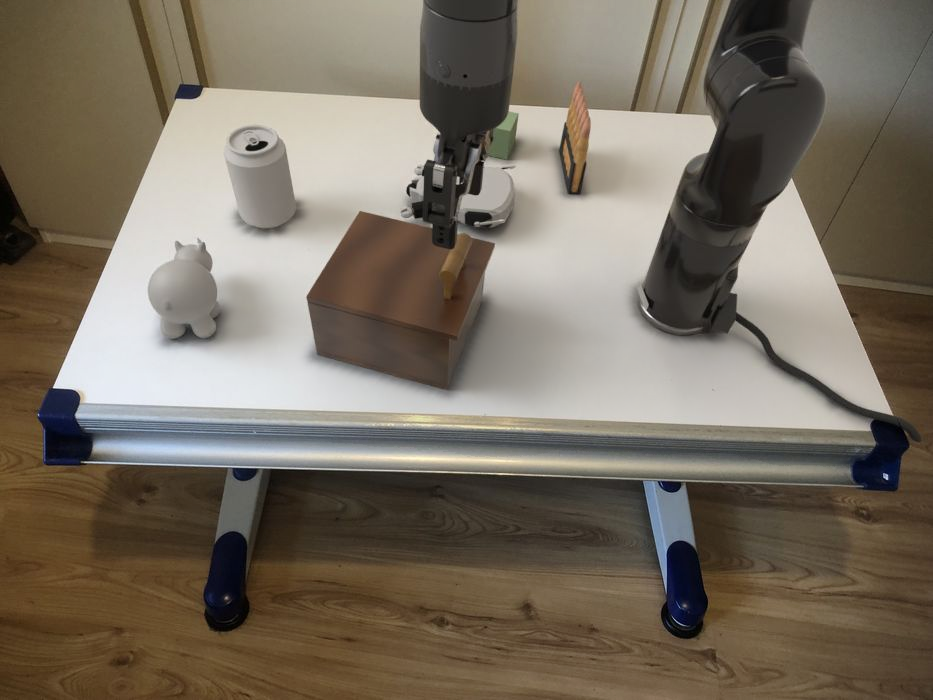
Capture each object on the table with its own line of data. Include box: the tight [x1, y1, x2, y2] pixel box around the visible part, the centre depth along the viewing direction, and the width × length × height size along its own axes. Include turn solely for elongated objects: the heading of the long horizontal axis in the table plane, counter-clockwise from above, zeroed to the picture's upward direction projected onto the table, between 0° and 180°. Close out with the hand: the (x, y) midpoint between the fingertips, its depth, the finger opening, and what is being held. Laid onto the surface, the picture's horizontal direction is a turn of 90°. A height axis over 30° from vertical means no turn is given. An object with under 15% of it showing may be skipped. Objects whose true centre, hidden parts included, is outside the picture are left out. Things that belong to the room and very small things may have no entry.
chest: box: [306, 272, 486, 390], centre depth 78 cm, size 16×15×9 cm
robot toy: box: [399, 164, 517, 229], centre depth 94 cm, size 12×4×15 cm
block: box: [488, 110, 520, 161], centre depth 104 cm, size 5×5×5 cm
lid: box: [306, 210, 496, 341], centre depth 73 cm, size 16×15×5 cm
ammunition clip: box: [558, 80, 592, 194], centre depth 98 cm, size 11×2×12 cm, turn 2°
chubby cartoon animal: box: [147, 237, 221, 340], centre depth 79 cm, size 7×12×8 cm, turn 179°
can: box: [223, 124, 297, 229], centre depth 89 cm, size 8×8×12 cm
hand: (457, 217), depth 67 cm, fingers open, 8 cm apart
